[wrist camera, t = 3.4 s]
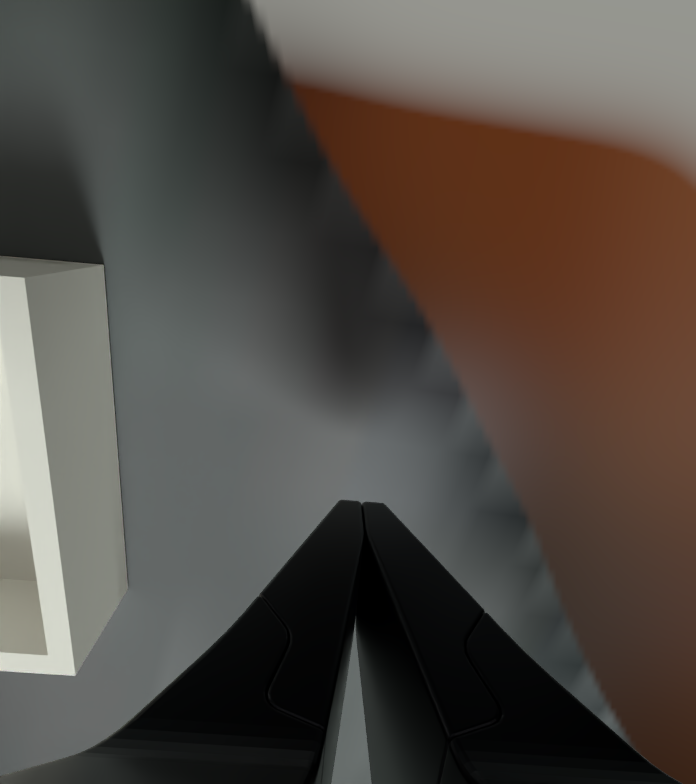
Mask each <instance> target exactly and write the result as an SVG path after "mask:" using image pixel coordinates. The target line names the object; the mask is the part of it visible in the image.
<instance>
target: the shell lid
mask: <svg viewBox="0 0 696 784" xmlns="http://www.w3.org/2000/svg"><path fill="white" fill-rule="evenodd" d="M127 590H128V580H127V567H126V553H125V540H124V527H123V514H122V500H121V487H120V474H119V461H118V447H117V434H116V421H115V408H114V394H113V381H112V368H111V354H110V341H109V328H108V315H107V301H106V288H105V275H104V265H100V264H89V263H78V262H66V261H55V260H44V259H32V258H21V257H10V256H0V671H10V672H25V673H40V674H55V675H70V676H76V674H77V673H78V671H79V669H80V668H81V666H82V664H83V663H84V661H85V659H86V658H87V656H88V655H89V653H90V651H91V650H92V648H93V646H94V645H95V643H96V641H97V640H98V638H99V636H100V635H101V633H102V631H103V630H104V628H105V626H106V625H107V623H108V622H109V620H110V618H111V617H112V615H113V613H114V612H115V610H116V608H117V607H118V605H119V603H120V602H121V600H122V598H123V597H124V595H125V594H126V592H127Z"/></svg>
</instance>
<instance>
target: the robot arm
mask: <svg viewBox="0 0 696 784" xmlns="http://www.w3.org/2000/svg"><path fill="white" fill-rule="evenodd" d="M355 621H356V638H357V648H358V658H359V667H360V677H361V686H362V696H363V705H364V715H365V724H366V733H367V743H368V752H369V762H370V771H371V781H372V784H682V783H680V782H679V781H677V780H675V779H673V778H672V777H670V776H668V775H667V774H665V773H664V772H662V771H661V770H660V769H658V768H657V767H655V766H654V765H652V764H651V763H650V762H649V761H647V760H646V759H645V758H644V757H643V756H641V755H640V754H639V753H638V752H637V751H635V750H634V749H633V748H632V747H631V746H630V745H629V744H627V743H626V742H625V741H624V740H623V739H622V738H621V737H619V736H618V735H617V734H616V733H615V732H614V731H613V730H612V729H610V728H609V727H608V726H607V725H606V724H605V723H604V722H603V721H601V720H600V719H599V718H598V717H597V716H596V715H595V714H593V713H592V712H591V711H590V710H589V709H588V708H587V707H586V706H584V705H583V704H582V703H581V702H580V701H579V700H578V699H577V698H575V697H574V696H573V695H572V694H571V693H570V692H569V691H567V690H566V689H565V688H564V687H563V686H562V685H561V684H560V683H558V682H557V681H556V680H555V679H554V678H553V677H552V676H551V675H550V674H549V673H547V672H546V671H545V670H544V669H543V668H542V667H541V666H540V665H539V664H538V663H537V662H536V661H534V660H533V659H532V658H531V657H530V656H529V655H528V654H527V653H526V652H525V651H524V650H523V649H522V648H521V647H520V646H519V645H518V644H517V643H516V642H515V641H514V640H513V639H512V638H511V637H510V636H509V635H508V634H507V633H506V632H505V631H504V630H503V629H502V628H501V627H500V626H499V625H498V624H497V623H496V622H495V621H494V620H493V618H492V617H491V616H490V615H489V614H488V613H485V611H484V609H483V608H482V607H481V606H480V605H479V604H478V603H477V602H476V601H475V600H474V599H473V597H472V596H471V595H470V594H469V593H468V592H467V591H466V590H465V589H464V588H463V587H462V586H461V585H460V584H459V583H458V582H457V580H456V579H455V578H454V577H453V576H452V575H451V574H450V573H449V572H448V571H447V570H446V569H445V568H444V567H443V566H442V565H441V563H440V562H439V561H438V560H437V559H436V558H435V557H434V556H433V555H432V554H431V553H430V552H429V551H428V550H427V549H426V547H425V546H424V545H423V544H422V543H421V542H420V541H419V540H418V539H417V538H416V537H415V536H414V535H413V534H412V533H411V532H410V530H409V529H408V528H407V527H406V526H405V525H404V524H403V523H402V522H401V521H400V520H399V519H398V518H397V517H396V516H395V515H394V513H393V512H392V511H391V510H390V509H389V508H388V507H387V506H386V505H385V504H383V503H376V502H364V503H363V504H362V505H361V503H360V502H359V501H350V500H340V501H338V503H337V504H336V505H335V506H334V507H333V508H332V510H331V511H330V512H329V513H328V514H327V516H326V517H325V518H324V519H323V520H322V521H321V523H320V524H319V525H318V526H317V527H316V529H315V530H314V531H313V532H312V533H311V534H310V536H309V537H308V538H307V539H306V540H305V541H304V543H303V544H302V545H301V546H300V547H299V549H298V550H297V551H296V552H295V553H294V554H293V556H292V557H291V558H290V559H289V560H288V562H287V563H286V564H285V565H284V566H283V567H282V569H281V570H280V571H279V572H278V573H277V574H276V576H275V577H274V578H273V579H272V580H271V582H270V583H269V584H268V585H267V586H266V587H265V589H264V590H263V591H262V592H261V593H260V595H259V597H257V598H256V599H255V600H254V601H253V602H252V604H251V605H250V606H249V607H248V608H247V610H246V611H245V612H244V613H243V614H242V615H241V616H240V617H239V618H238V620H237V621H236V622H235V623H234V624H233V625H232V626H231V627H230V628H229V629H228V630H227V632H226V633H225V634H223V635H222V636H221V637H220V638H219V639H218V640H217V641H216V642H215V643H214V644H213V645H212V646H211V647H210V648H209V649H208V650H207V651H206V652H205V653H204V654H203V655H201V656H200V657H199V658H198V659H197V660H196V661H195V662H194V663H193V664H192V665H190V666H189V667H188V668H187V669H186V670H185V671H184V672H183V673H182V674H181V675H179V676H178V677H177V678H176V679H175V680H174V681H173V682H172V683H171V684H169V685H168V686H167V687H166V688H165V689H164V690H163V691H162V692H161V693H160V694H158V695H157V696H156V697H155V698H154V699H153V700H152V701H151V702H150V703H149V704H147V705H146V706H145V707H144V708H143V709H142V710H141V711H140V712H139V713H137V714H136V715H135V716H134V717H133V718H132V719H131V720H129V721H128V722H127V723H126V724H125V725H124V726H122V727H121V728H120V729H119V730H117V731H116V732H115V733H113V734H112V735H110V736H109V737H108V738H106V739H105V740H103V741H101V742H100V743H98V744H96V745H95V746H93V747H91V748H89V749H87V750H85V751H83V752H81V753H78V754H75V755H72V756H69V757H66V758H62V759H59V760H55V761H52V762H48V763H45V764H41V765H38V766H34V767H31V768H27V769H24V770H20V771H17V772H13V773H10V774H6V775H2V776H0V784H331V780H332V774H333V767H334V761H335V754H336V747H337V741H338V734H339V727H340V721H341V714H342V708H343V701H344V694H345V688H346V681H347V674H348V668H349V661H350V655H351V648H352V641H353V633H354V625H355Z"/></svg>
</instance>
